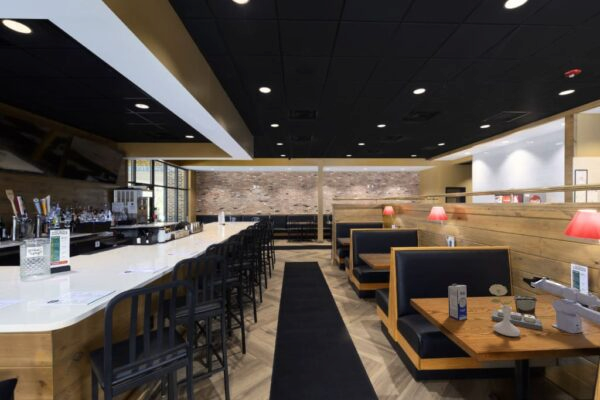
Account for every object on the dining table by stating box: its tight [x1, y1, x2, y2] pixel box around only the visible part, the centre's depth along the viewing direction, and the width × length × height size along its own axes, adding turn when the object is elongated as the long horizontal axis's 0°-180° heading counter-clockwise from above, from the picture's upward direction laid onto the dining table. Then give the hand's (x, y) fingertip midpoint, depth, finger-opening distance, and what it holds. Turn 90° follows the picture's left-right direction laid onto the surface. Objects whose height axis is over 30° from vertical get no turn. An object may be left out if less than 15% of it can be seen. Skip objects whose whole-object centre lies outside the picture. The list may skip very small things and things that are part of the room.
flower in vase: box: [488, 283, 521, 337], centre depth 143 cm, size 13×11×25 cm
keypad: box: [491, 309, 543, 331], centre depth 157 cm, size 22×11×2 cm, turn 51°
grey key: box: [510, 311, 522, 320], centre depth 157 cm, size 4×4×2 cm
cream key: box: [523, 314, 536, 323], centre depth 153 cm, size 4×4×2 cm
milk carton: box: [447, 283, 468, 322], centre depth 163 cm, size 7×7×20 cm
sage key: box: [497, 309, 504, 316], centre depth 160 cm, size 4×4×2 cm
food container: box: [513, 294, 538, 315], centre depth 170 cm, size 12×6×10 cm, turn 84°
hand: (528, 278), depth 166 cm, fingers open, 7 cm apart
